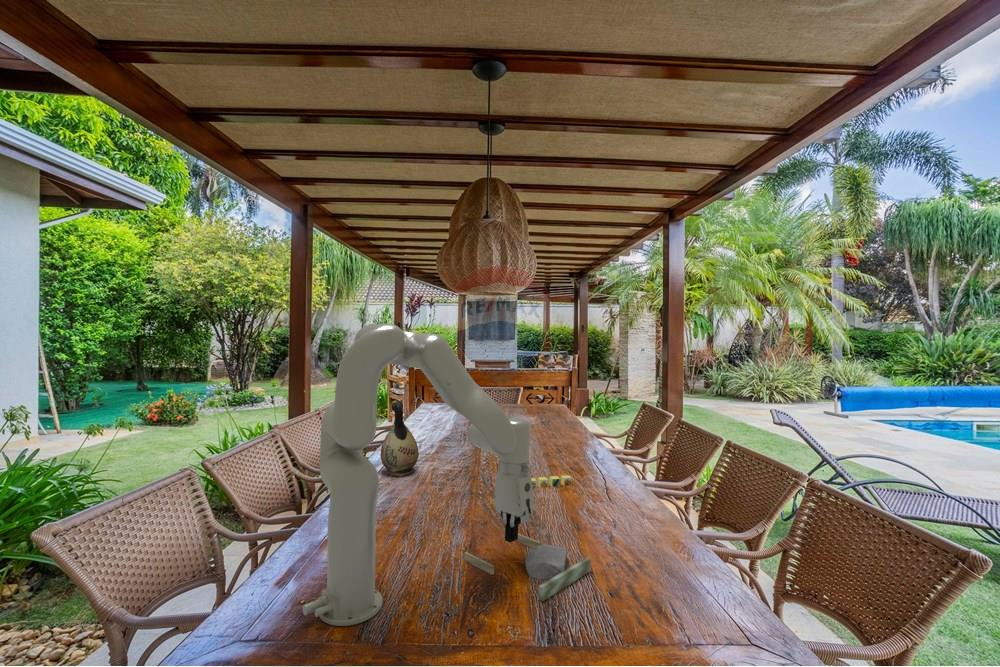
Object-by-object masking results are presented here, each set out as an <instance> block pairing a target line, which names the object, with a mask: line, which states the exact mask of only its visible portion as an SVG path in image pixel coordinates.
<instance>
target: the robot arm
mask: <svg viewBox="0 0 1000 667" xmlns="http://www.w3.org/2000/svg"><path fill="white" fill-rule="evenodd" d="M353 341H354V342H353V343H352V344H351V345H350V347H349V348H348V349H347V351H346V352H345V354H344V355H343V357H342V359H341V361H340V362H339V366H338V369H337V373H336V375H337V376H336V382H335V383H336V384H335V394H334V402H333V403H331V404H330V405H329V406H328V407H327V409H326V410H324V414H323V416H322V420H321V427H320V442H319V445H320V446H319V450H320V451H319V474H320V478H321V480H322V482H323V484H324V485H325V486H326V488H327V490H328V491H329V507H328V515H327V516H328V517H327V554H326V555H327V556H326V557H327V566H326V567H327V571H326V572H327V575H326V588H324V589H322V591H321V596H318V597H317V599H316V600H314V601H310V602H307V603H305V604H303V605H302V614H303V615H304V616H307V615H310V614H312V613H314V616H315V617H316V618H318V617H319V619H320V620H321V621H322V622H324V623H326V624H328V625H331V626H335V627H336V626H337V627H346V626H354V625H358V624H361V623H363V622H366V621H368V620H370V619H371V618H373V617H374V616H376V615H377V614H378V612H380V611H381V608H382V606H383V596H382V594H381V593H380V592H379V591H378V590H377V589H376V530H377V528H376V525H377V524H376V520H377V516H376V515H377V506H378V505H377V504H378V497H379V491H380V477H379V472H378V471H377V468H376V466H375V465H374V464H373V463H372V462H371V460H369V459H368V458H367V457H366V456H365V455H364V449H365V448H367V447H368V446H369V445H370V444H371V443H372V442H373V440H374V438H375V436H376V433H377V426H378V425H377V421H378V420H377V419H378V418H377V416H378V415H377V413H378V394H379V393H378V391H379V384H380V383H379V382H380V379H381V376H382V374H383V372H384V370H385V369H386V368H387V367H388V366H389V365H394V366H399V367H401V366H402V367H409V368H417V369H420V370H421V371H422V373H423V374H424V376H425V377H426V378H427V380H428V381H429V382H430V384H431V385H432V387H433V389H434V390H435V391H436V392H437V394H438V396H439V397H440V398H441V400H442V401H443V402H444V403H445V405H447V406H448V407H450V409H452V410H454V411H455V412H456V413H458V414H460V415H461V416H462V417H464V418H465V419H467V420H468V421H469V422H470V423H471V424H470V425H469V427H468V430H467V436H468V439H469V442H470V443H471V444H472V445H473V446H474V447H476V448H479V449H481V450H484V451H485V452H488V453H491V454H492V455H495V456H498V457H499V458H498V459H499V461H498V470H497V473H496V477H495V484H494V493H493V494H494V495H493V502H494V504H493V505H494V507H495V512H497V513H498V514H499V515H500V516H501V517H502V522H503V524H504V525H505V526H504V541H506V542H508V543H513V542H516V541H515V540H517V539H518V533H519V526H520V525H521V524H522V523H528V522H530V520H531V518H530V515H531V514H533V512H534V490H533V489H534V488H533V486H532V479H531V478H532V474H529V473H531V471H532V469H531V467H530V466H529V463H530V462H529V460H530V458H529V456H530V431H531V425H530V422H529V421H528V420H527V419H525V418H519V417H508V416H507V415H506V413H505V412H504V411H503V409H502V408H501V406H500V405H498V404H497V403H496V401H495V400H494V399H493V398H492V397H491V396H490V395H489V394H488V393H487V392H486V391H485V390H484V389H483V388H482V387H481V386H480V385H479V384H477V382H475V380H474V379H473V377H472V376H471V375H470V374H469V373H470V372H468V371H467V369H466V367H465V366H464V364H463V363H462V361H461V360H460V359H459V357H458V356H457V354H456V353H455V351H454V350H453V348H452V347H451V345H450V344H449V342H448V341H447V340H446V339H445V338H444V337H443V336H442V335H440V334H438V333H432V332H431V333H429V332H428V333H426V332H425V333H423V332H421V333H419V332H414V331H413V332H411V331H405V330H402V328H401V327H399V326H397V325H395V324H392V323H386V322H385V323H384V322H383V323H374V324H373V323H372V324H367V325H365V326H363V327H361V328H360V329H359V330H358V331H357V333H356V334H355V336H354V339H353Z"/></svg>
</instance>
